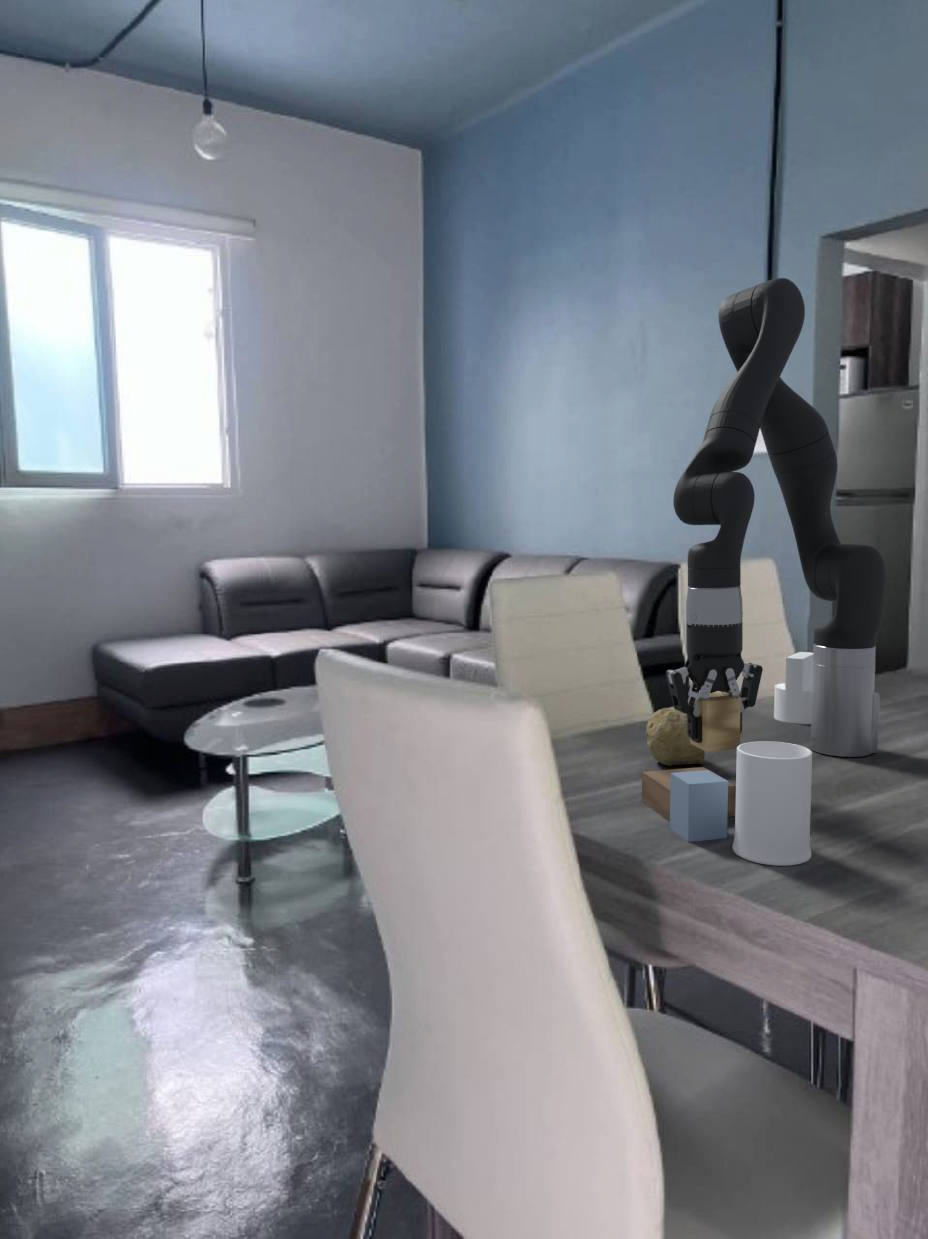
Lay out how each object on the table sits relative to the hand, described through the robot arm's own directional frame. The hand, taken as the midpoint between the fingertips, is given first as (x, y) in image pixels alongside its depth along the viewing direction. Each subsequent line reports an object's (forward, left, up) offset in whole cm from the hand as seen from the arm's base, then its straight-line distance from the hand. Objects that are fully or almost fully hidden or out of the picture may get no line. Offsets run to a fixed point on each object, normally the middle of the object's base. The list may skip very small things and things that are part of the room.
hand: (714, 738), depth 130 cm
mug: (+5, +23, -7) cm, 25 cm away
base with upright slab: (-36, -36, -7) cm, 52 cm away
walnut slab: (+8, +8, -7) cm, 13 cm away
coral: (0, -13, -7) cm, 15 cm away
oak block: (0, 0, -1) cm, 1 cm away
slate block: (+11, +17, -7) cm, 21 cm away
